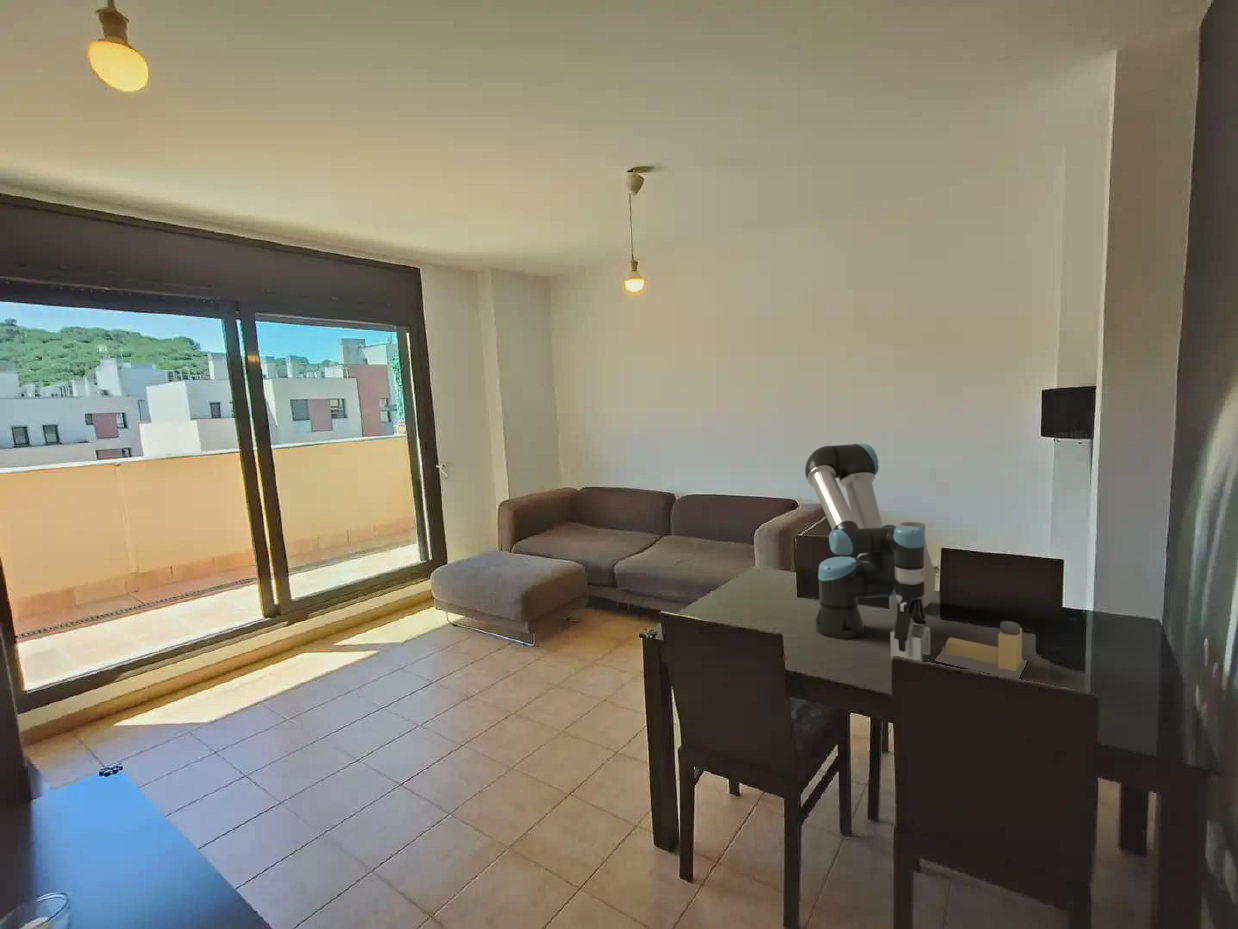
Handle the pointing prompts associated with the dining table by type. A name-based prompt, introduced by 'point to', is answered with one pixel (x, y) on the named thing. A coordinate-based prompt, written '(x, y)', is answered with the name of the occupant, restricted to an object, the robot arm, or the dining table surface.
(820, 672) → the dining table surface
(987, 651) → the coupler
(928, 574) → the vase
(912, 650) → the grey slotted block
